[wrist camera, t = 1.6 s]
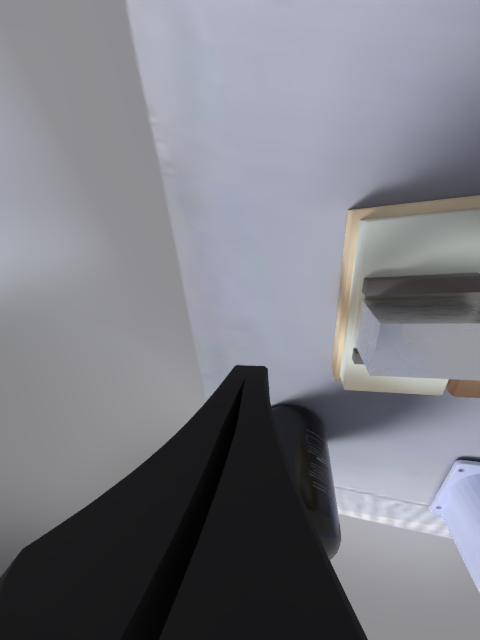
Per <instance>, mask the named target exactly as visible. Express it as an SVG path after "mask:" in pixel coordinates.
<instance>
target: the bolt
mask: <svg viewBox="0 0 480 640" xmlns="http://www.w3.org/2000/svg"><path fill="white" fill-rule="evenodd" d="M355 346H356V348H357V350H358V352H359V354H360V356H361V358H362V360H363V362H364V365H365V367H366V369H367V371H368V373H369V375H370V376H389V377H411V378H434V379H456V380H479V381H480V301H478V300H476V299H474V298H472V297H449V298H413V299H377V300H362V303H361V309H360V316H359V322H358V329H357V335H356V342H355Z"/></svg>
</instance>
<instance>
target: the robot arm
mask: <svg viewBox="0 0 480 640" xmlns="http://www.w3.org/2000/svg"><path fill="white" fill-rule="evenodd" d="M429 510H430V512H431V513H433V514H437V515H441V516H442V518H443V520H444V522H445V524H446V526H447V528H448V530H449V532H450V534H451V536H452V538H453V540H454V542H455V544H456V546H457V548H458V550H459V552H460V554H461V556H462V558H463V560H464V562H465V564H466V567H467V569H468V571H469V573H470V575H471V577H472V579H473V581H474V583H475V585H476V587H477V589H478V591H479V592H480V462H476V461H467V460H457V461H456V462H455V463H454V465H453V466H452V468H451V470H450V472H449V473H448V475H447V477H446V479H445V480H444V482H443V484H442V486H441V487H440V489H439V491H438V493H437V494H436V496H435V498H434V500H433V501H432V503H431V505H430V507H429ZM0 640H368V639H367V637H366V635H365V633H364V631H363V629H362V627H361V625H360V623H359V621H358V619H357V616H356V614H355V612H354V610H353V608H352V606H351V604H350V602H349V600H348V598H347V596H346V594H345V592H344V590H343V588H342V585H341V583H340V581H339V579H338V577H337V575H336V573H335V571H334V569H333V567H332V565H331V562H330V560H329V558H328V556H327V553H326V551H325V549H324V547H323V545H322V542H321V540H320V538H319V536H318V534H317V532H316V529H315V527H314V525H313V522H312V520H311V518H310V515H309V513H308V510H307V508H306V506H305V503H304V501H303V499H302V496H301V494H300V492H299V489H298V487H297V484H296V482H295V479H294V477H293V474H292V471H291V469H290V466H289V463H288V461H287V458H286V455H285V452H284V449H283V446H282V443H281V440H280V437H279V434H278V431H277V427H276V424H275V420H274V417H273V413H272V409H271V404H270V397H269V383H268V369H267V368H266V367H265V366H243V365H236V366H235V367H234V368H233V369H232V370H231V372H230V373H229V374H228V376H227V377H226V378H225V380H224V381H223V382H222V383H221V385H220V386H219V387H218V389H217V390H216V391H215V392H214V393H213V394H212V396H211V397H210V398H209V399H208V400H207V402H206V403H205V404H204V405H203V406H202V407H201V408H200V409H199V411H198V412H197V413H196V414H195V415H194V416H193V417H192V418H191V419H190V420H189V421H188V422H187V423H186V424H185V425H184V426H183V427H182V428H181V429H180V430H179V431H178V432H177V433H176V434H175V435H174V436H173V437H172V438H171V439H170V440H169V441H168V442H167V443H166V444H165V445H163V446H162V448H160V449H159V450H158V451H157V452H155V453H154V454H153V455H152V456H151V457H150V458H149V459H147V460H146V461H145V462H144V463H143V464H141V465H140V466H139V467H138V468H136V469H135V470H134V471H133V472H132V473H130V474H129V475H128V476H126V477H125V478H124V479H122V480H121V481H120V482H118V483H117V484H116V485H115V486H113V487H112V488H110V489H109V490H108V491H106V492H105V493H104V494H103V495H101V496H100V497H99V498H97V499H96V500H94V501H93V502H92V503H90V504H89V505H88V506H86V507H85V508H83V509H82V510H80V511H79V512H78V513H76V514H74V515H73V516H71V517H70V518H68V519H67V520H66V521H64V522H63V523H61V524H60V525H58V526H57V527H55V528H54V529H52V530H51V531H49V532H48V533H46V534H45V535H43V536H42V537H40V538H39V539H37V540H36V541H34V542H33V543H31V544H30V545H28V546H26V547H25V548H24V549H22V551H21V552H20V553H19V554H18V556H17V557H16V558H15V559H14V561H13V562H12V563H11V565H10V566H9V567H8V568H7V570H6V571H5V573H4V574H3V575H2V576H1V577H0Z"/></svg>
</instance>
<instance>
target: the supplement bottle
mask: <svg viewBox="0 0 480 640" xmlns="http://www.w3.org/2000/svg"><path fill="white" fill-rule="evenodd" d="M271 409H272V413H273V417H274V420H275V424H276V427H277V431H278V434H279V437H280V440H281V443H282V446H283V449H284V452H285V455H286V458H287V461H288V463H289V466H290V469H291V471H292V474H293V477H294V479H295V482H296V484H297V487H298V489H299V492H300V494H301V496H302V499H303V501H304V503H305V506H306V508H307V510H308V513H309V515H310V518H311V520H312V522H313V525H314V527H315V529H316V532H317V534H318V536H319V538H320V540H321V542H322V545H323V547H324V549H325V551H326V553H327V556H328V558H329V560H330V559H332V558H333V557H334V555H335V554H336V553H337V551H338V549H339V546H340V542H341V531H340V523H339V517H338V510H337V503H336V497H335V490H334V483H333V477H332V470H331V464H330V457H329V450H328V444H327V438H326V432H325V428H324V426H323V424H322V422H321V421H320V420H319V418H318V417H317V416H315V415H314V414H313V413H311V412H310V411H308V410H306V409H303V408H300V407H296V406H286V405H285V406H277V407H274V408H271Z"/></svg>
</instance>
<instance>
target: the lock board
mask: <svg viewBox="0 0 480 640" xmlns="http://www.w3.org/2000/svg"><path fill="white" fill-rule="evenodd" d="M449 297H472V298H474V299H476V300H478V301H480V195H474V196H465V197H457V198H448V199H439V200H431V201H422V202H413V203H405V204H396V205H387V206H379V207H370V208H361V209H352V210H348V211H347V221H346V231H345V241H344V251H343V261H342V271H341V281H340V291H339V301H338V311H337V321H336V331H335V341H334V350H333V360H332V370H333V374H334V378H335V380H341V381H342V385H343V388H344V390H356V391H373V392H389V393H406V394H423V395H440V396H442V394H443V392H444V390H445V388H446V389H447V390H448V391H449V392H450V393H451V395H452V396H457V397H474V398H480V381H479V380H456V379H434V378H411V377H389V376H370V375H369V373H368V371H367V369H366V367H365V365H364V362H363V360H362V358H361V356H360V354H359V352H358V350H357V348H356V346H355V342H356V335H357V329H358V322H359V316H360V309H361V303H362V300H377V299H413V298H449Z"/></svg>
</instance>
